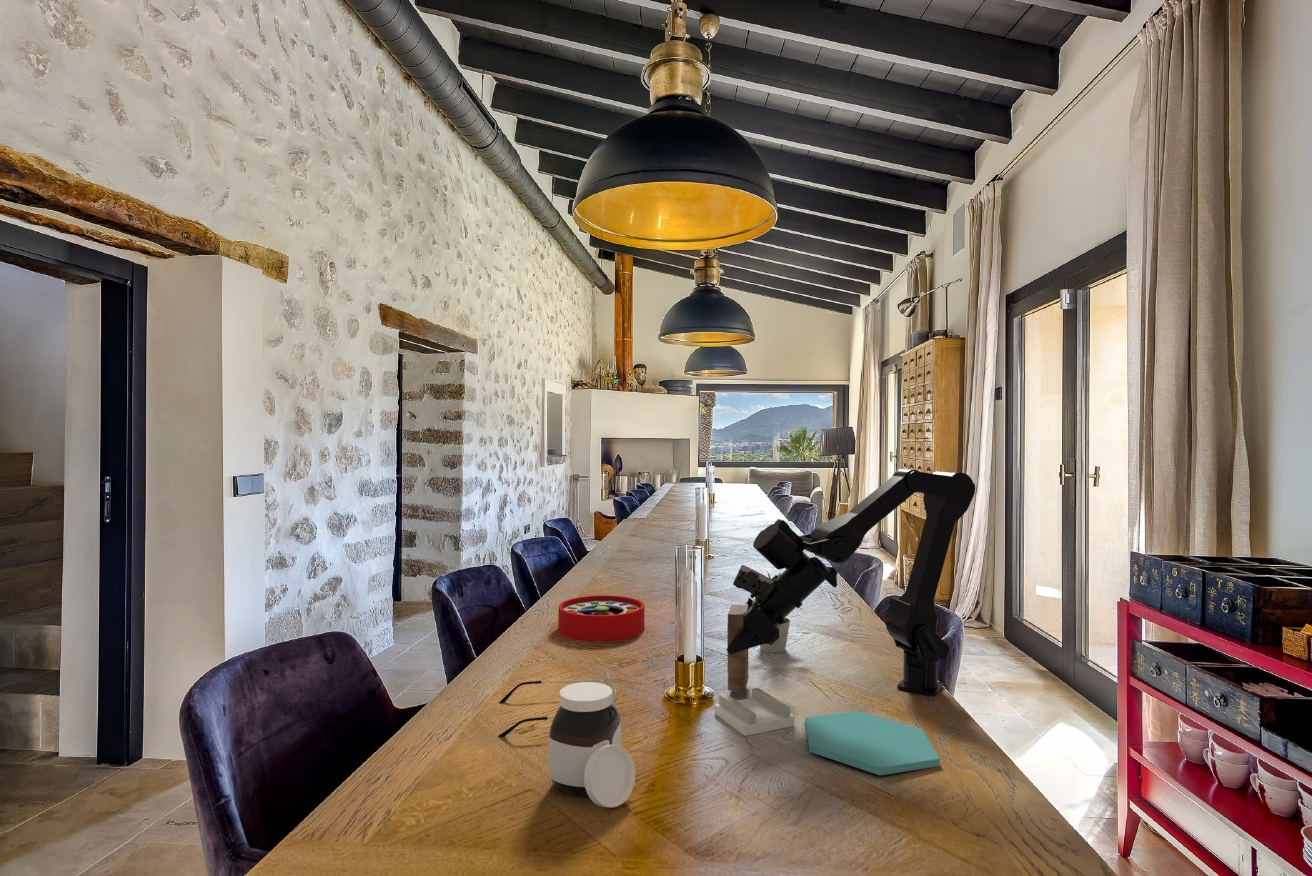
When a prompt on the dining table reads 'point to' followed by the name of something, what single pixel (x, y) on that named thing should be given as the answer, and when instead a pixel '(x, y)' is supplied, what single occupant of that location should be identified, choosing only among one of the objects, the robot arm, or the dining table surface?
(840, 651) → the dining table surface
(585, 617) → the toy clock
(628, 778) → the spread jar
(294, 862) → the dining table surface
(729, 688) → the brown box
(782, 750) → the dining table surface
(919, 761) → the plaque
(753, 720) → the display stand
